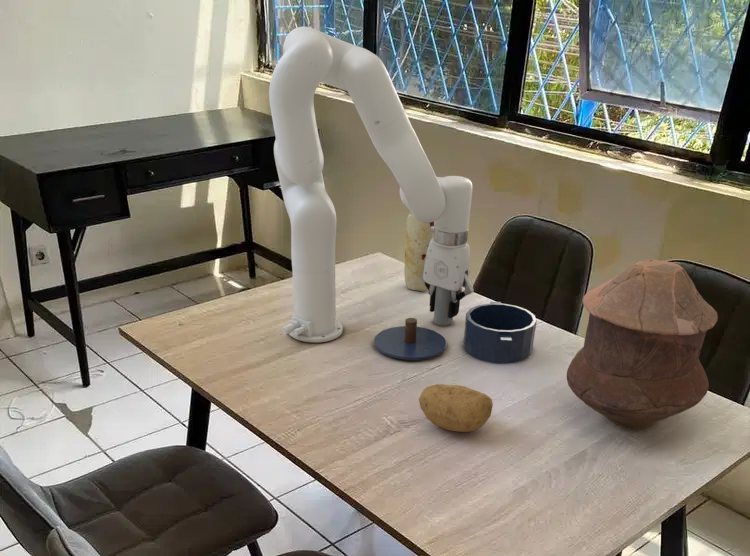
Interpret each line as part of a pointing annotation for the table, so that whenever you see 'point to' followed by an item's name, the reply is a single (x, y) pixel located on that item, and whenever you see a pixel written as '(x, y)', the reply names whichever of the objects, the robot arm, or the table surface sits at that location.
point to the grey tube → (442, 306)
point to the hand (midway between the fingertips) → (443, 312)
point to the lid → (410, 342)
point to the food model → (416, 251)
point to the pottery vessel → (643, 346)
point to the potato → (455, 407)
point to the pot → (499, 333)
